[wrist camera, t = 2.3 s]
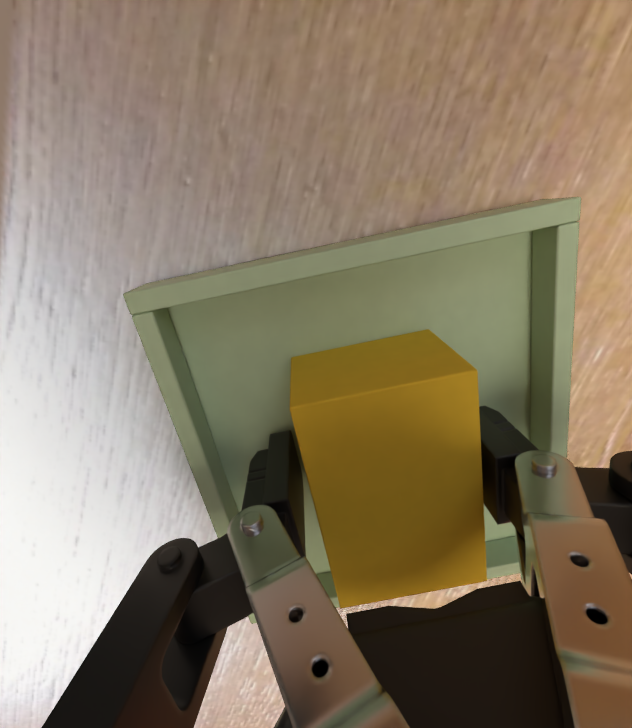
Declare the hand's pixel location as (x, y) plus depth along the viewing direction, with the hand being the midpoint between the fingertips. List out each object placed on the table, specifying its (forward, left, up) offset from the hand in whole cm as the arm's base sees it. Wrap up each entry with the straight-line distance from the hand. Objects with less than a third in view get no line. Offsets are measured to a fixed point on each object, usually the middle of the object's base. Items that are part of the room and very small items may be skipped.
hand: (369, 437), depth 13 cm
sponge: (0, 0, 0) cm, 0 cm away
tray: (0, 0, -1) cm, 1 cm away
